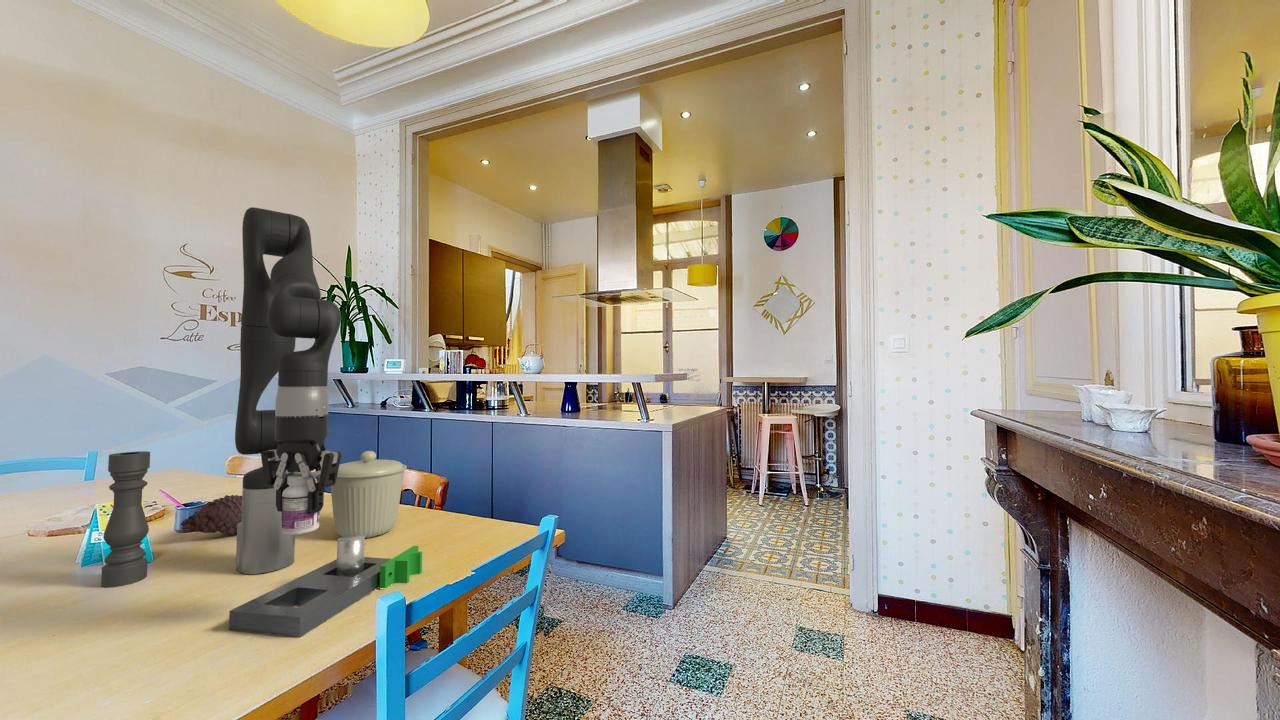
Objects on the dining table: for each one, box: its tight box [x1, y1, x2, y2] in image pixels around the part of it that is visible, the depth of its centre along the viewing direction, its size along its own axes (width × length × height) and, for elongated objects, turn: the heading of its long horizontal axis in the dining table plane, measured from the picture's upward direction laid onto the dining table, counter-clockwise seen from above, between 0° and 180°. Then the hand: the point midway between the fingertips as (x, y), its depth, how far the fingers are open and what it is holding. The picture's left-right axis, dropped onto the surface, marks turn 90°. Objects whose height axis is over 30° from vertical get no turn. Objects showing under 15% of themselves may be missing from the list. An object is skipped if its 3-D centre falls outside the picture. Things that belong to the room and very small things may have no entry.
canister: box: [330, 450, 407, 539], centre depth 124 cm, size 18×18×21 cm
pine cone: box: [180, 494, 242, 536], centre depth 121 cm, size 18×10×10 cm, turn 143°
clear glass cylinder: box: [336, 534, 366, 577], centre depth 93 cm, size 5×5×9 cm
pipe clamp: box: [379, 545, 423, 589], centre depth 97 cm, size 11×4×5 cm, turn 174°
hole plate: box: [228, 556, 392, 638], centre depth 87 cm, size 13×24×3 cm, turn 171°
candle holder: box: [100, 450, 151, 588], centre depth 95 cm, size 6×6×25 cm
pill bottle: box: [281, 473, 321, 536], centre depth 82 cm, size 5×5×10 cm
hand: (299, 511), depth 82 cm, fingers closed on pill bottle, 5 cm apart
